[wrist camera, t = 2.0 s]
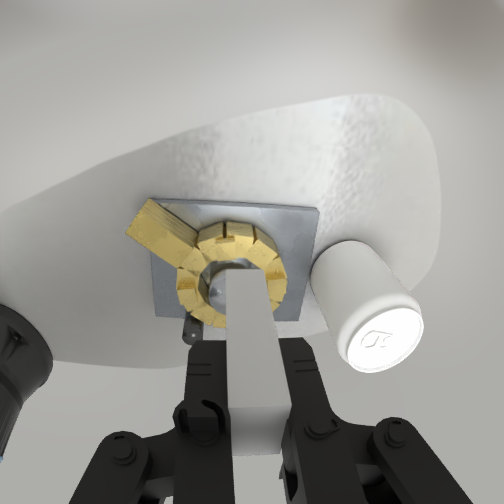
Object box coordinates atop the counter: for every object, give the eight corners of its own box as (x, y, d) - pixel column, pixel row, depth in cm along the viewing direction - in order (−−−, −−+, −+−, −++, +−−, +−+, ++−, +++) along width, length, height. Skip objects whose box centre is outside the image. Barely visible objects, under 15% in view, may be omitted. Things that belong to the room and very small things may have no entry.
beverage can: (360, 304, 37) (401, 375, 26) (299, 297, 35) (327, 376, 25) (386, 245, 33) (443, 307, 22) (321, 231, 32) (366, 298, 21)
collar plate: (157, 309, 35) (147, 346, 29) (151, 198, 29) (134, 222, 23) (296, 314, 36) (307, 351, 31) (316, 208, 31) (336, 232, 25)
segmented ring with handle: (301, 261, 32) (310, 283, 28) (238, 324, 35) (240, 349, 31) (173, 164, 26) (164, 175, 23) (116, 246, 29) (104, 266, 26)
